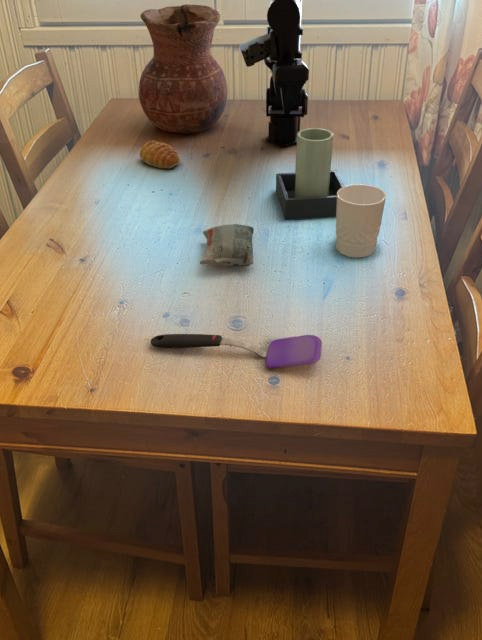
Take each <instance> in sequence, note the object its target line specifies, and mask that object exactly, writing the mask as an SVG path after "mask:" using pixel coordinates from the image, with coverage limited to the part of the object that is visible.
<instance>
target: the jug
mask: <svg viewBox="0 0 482 640" xmlns="http://www.w3.org/2000/svg"><path fill="white" fill-rule="evenodd" d="M140 19H141V21H142V22H143V23H144V25H145V26H146V28H147V30H148V33H149V37H150V39H151V43H152V47H153V56H152V58H151V59H150V60H149V61H148V63H147V64H146V65H145V67H144V69H143V70H142V73H141V74H140V78H139V83H138V99H139V103H140V106H141V109H142V111H143V113H144V114H145V116H146V117H147V119H148V120H149V121H150V122H151V123H152V125H154V126H156V127H157V128H158V129H160V130H162V131H163V132H164V131H165V132H167V133H173V134H183V135H184V134H185V135H187V134H197V133H198V134H199V133H201V132H204V131H207V130H209V129H211V128H212V127H213V126H214V125H215V124H216V123H217V122H218V121H219V120H220V118H221V116H222V115H223V113H224V111H225V108H226V106H227V102H228V82H227V78H226V75H225V72H224V70H223V68H222V66H221V64H219V62H217V60H216V59H215V58H214V57H213V55H212V54H211V47H212V43H213V38H214V35H215V34H214V33H215V28H216V27H217V25H218V24H219V22H220V21H221V13H220V12H219V11H218V10H217V9H215V8H212V7H210V6H208V5H201V4H188V3H185V4H182V5H175V6H174V5H173V6H165V7H163V8H159V9H154V8H149V9H146V10H144V11H142V12H141V14H140Z"/></svg>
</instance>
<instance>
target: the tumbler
mask: <svg viewBox="0 0 482 640" xmlns="http://www.w3.org/2000/svg"><path fill="white" fill-rule="evenodd" d="M333 144H334V133H333V132H332V131H331V130H329V129H325V128H319V127H308V128H303V129H300V131H299V132H298V133H297V143H296V149H295V169H294V170H295V171H294V173H295V190H294V198H304V197H321V196H329V184H330V172H331V171H332V170H331V169H332V158H333V146H334V145H333Z"/></svg>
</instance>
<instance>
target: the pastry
mask: <svg viewBox="0 0 482 640" xmlns="http://www.w3.org/2000/svg"><path fill="white" fill-rule="evenodd" d="M139 157H140V159H141V160H142V162H143V163H146V164H147V165H149V166H151V167H155V168H158V169H171V168H174V167H176V166H178V165H179V164H180V161H181V157H180V156H179V153H178V152H177V151H176V150H175V149H174V148H173V147H172V146H170V145H169V144H167V143H165V142H161V141H160V142H158V141H157V140H148V141H147V142H146V143H145V144H143V145H142V147H141V150H140V152H139Z"/></svg>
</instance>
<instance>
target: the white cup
mask: <svg viewBox="0 0 482 640" xmlns="http://www.w3.org/2000/svg"><path fill="white" fill-rule="evenodd" d="M344 186H345V187H342V188H341V189H339V190H338V192H337V205H336V217H335V249H336V251H337V252H338V253H339V254H340V255H343V256H345V257H348V258H356V259H357V258H358V259H359V258H366V257H368V256H369V257H370V256H371V255H373V254H374V253H375V252H376V250H377V249H376V248H377V243H378V237H379V235H380V230H381V225H382V220H383V215H384V209H385V203H386V199H387V194H386V192H385V191H384V190H382V189H381V188H379V187H377V186H374V185H370V184H361V183H357V184H355V183H354V184H348V185H344Z"/></svg>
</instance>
